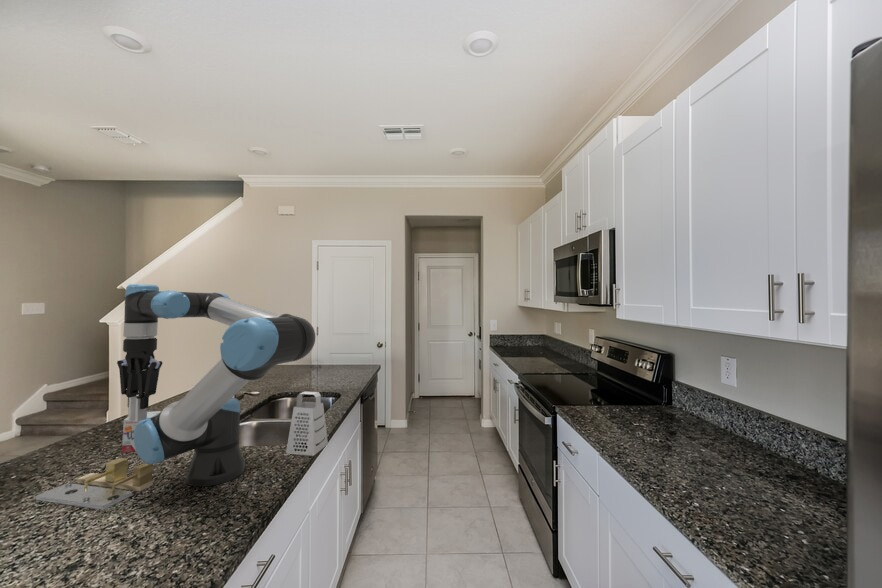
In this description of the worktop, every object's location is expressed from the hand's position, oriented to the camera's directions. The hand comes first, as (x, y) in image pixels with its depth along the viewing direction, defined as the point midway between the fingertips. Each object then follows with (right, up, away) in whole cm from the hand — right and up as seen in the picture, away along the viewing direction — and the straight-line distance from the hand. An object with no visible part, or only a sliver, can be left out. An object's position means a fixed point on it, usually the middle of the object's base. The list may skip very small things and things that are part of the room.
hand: (137, 419), depth 103 cm
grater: (+39, -20, +27) cm, 51 cm away
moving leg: (-6, -17, -3) cm, 18 cm away
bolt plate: (-8, -18, -8) cm, 21 cm away
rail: (-7, -18, -3) cm, 20 cm away
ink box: (-20, -19, +26) cm, 38 cm away
